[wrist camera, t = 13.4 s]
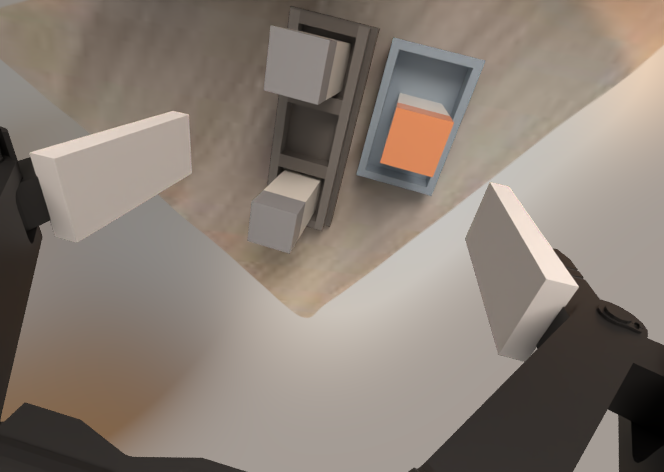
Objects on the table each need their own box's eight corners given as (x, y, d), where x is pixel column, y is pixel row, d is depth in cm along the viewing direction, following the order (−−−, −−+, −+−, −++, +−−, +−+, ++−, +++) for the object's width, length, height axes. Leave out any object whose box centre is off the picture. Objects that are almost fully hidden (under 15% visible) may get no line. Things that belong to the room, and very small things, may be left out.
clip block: (293, 6, 34) (284, 3, 32) (379, 28, 34) (377, 26, 31) (266, 204, 46) (258, 214, 43) (331, 223, 45) (326, 234, 42)
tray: (394, 38, 34) (393, 37, 31) (479, 60, 33) (485, 60, 31) (359, 166, 41) (356, 174, 38) (429, 186, 40) (431, 195, 37)
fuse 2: (287, 167, 41) (251, 201, 32) (322, 177, 41) (297, 214, 32) (282, 200, 44) (247, 240, 34) (315, 209, 43) (289, 253, 34)
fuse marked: (399, 92, 36) (396, 107, 26) (441, 103, 35) (454, 122, 26) (387, 135, 38) (379, 162, 28) (426, 145, 38) (432, 177, 28)
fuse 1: (308, 32, 34) (270, 24, 25) (351, 43, 34) (329, 40, 24) (301, 80, 36) (263, 90, 27) (341, 91, 36) (317, 104, 27)
